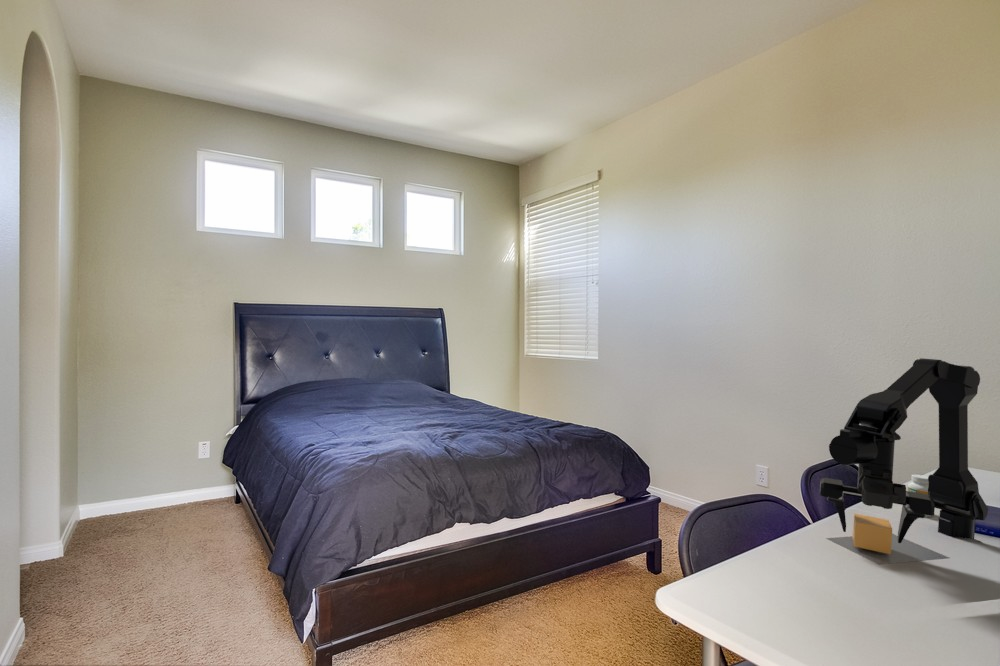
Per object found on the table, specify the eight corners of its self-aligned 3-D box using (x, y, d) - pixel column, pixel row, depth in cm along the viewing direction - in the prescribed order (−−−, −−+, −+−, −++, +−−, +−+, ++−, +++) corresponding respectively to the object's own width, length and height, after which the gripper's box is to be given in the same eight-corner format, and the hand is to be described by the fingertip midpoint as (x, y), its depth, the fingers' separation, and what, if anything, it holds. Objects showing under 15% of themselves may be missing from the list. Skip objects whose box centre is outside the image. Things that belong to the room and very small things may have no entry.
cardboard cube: (852, 536, 112) (853, 513, 112) (887, 543, 109) (888, 520, 109) (854, 546, 107) (855, 522, 107) (890, 554, 104) (892, 529, 103)
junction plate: (891, 540, 117) (892, 533, 117) (949, 565, 105) (949, 557, 105) (825, 545, 112) (825, 538, 112) (878, 571, 101) (878, 564, 101)
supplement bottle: (936, 515, 135) (938, 478, 134) (927, 518, 132) (930, 480, 132) (911, 508, 139) (913, 472, 139) (902, 511, 136) (904, 474, 136)
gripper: (822, 461, 105) (818, 538, 106) (942, 479, 96) (937, 564, 96) (822, 451, 115) (818, 521, 115) (931, 466, 105) (926, 543, 106)
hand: (871, 536), depth 108 cm, fingers open, 9 cm apart
